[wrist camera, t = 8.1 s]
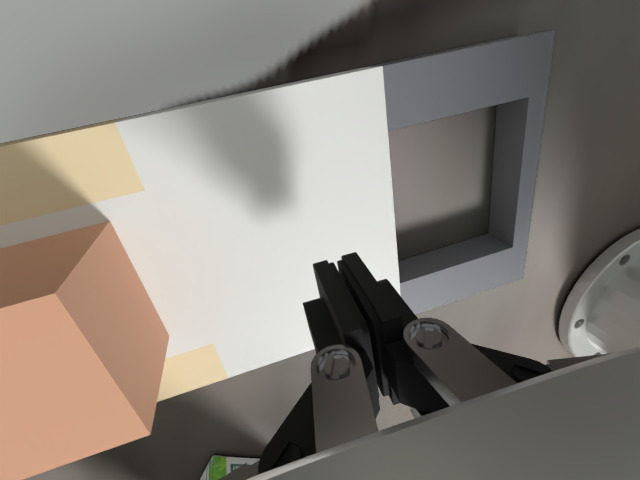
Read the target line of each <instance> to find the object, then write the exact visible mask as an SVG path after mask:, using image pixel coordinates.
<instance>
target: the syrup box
mask: <svg viewBox="0 0 640 480" xmlns="http://www.w3.org/2000/svg"><path fill="white" fill-rule="evenodd" d="M259 460H260V459H258V458H239V457H224V456H219V455H213V456H212V457H211V459H210V461H209V463H208V465H207V467H206V469H205V471H204V473H203V475H202V477H201V478H200V480H218V479H220V478H222V477H223V476H225V475H227V474H228V473H230V472H232V471H234V470H235V469H237V468H239V467H240V466H242V465H244V464H245V463H247V465H248V467H249V466H250V465H252V464H254V463H255V462H257V461H259Z"/></svg>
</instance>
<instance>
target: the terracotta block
mask: <svg viewBox="0 0 640 480" xmlns="http://www.w3.org/2000/svg"><path fill="white" fill-rule="evenodd" d="M168 341H169V334H168V332H167V330H166V328H165V326H164V324H163V323H162V321H161V319H160V317H159V315H158V313H157V311H156V309H155V307H154V305H153V303H152V301H151V299H150V297H149V295H148V293H147V292H146V290H145V288H144V286H143V284H142V282H141V280H140V278H139V276H138V274H137V272H136V270H135V268H134V266H133V264H132V262H131V260H130V259H129V257H128V255H127V253H126V251H125V249H124V247H123V245H122V243H121V241H120V239H119V237H118V235H117V233H116V231H115V229H114V228H113V226H112V224H111V222H110V221H107V222H103V223H99V224H95V225H91V226H87V227H83V228H79V229H75V230H71V231H67V232H63V233H59V234H55V235H51V236H47V237H43V238H40V239H36V240H32V241H28V242H24V243H20V244H16V245H12V246H8V247H4V248H0V480H23V479H25V478H28V477H31V476H34V475H37V474H40V473H43V472H45V471H48V470H51V469H54V468H57V467H60V466H63V465H65V464H68V463H71V462H74V461H77V460H80V459H83V458H85V457H88V456H91V455H94V454H97V453H100V452H103V451H105V450H108V449H111V448H114V447H117V446H120V445H123V444H126V443H128V442H131V441H134V440H137V439H140V438H143V437H146V436H148V435H151V430H152V425H153V420H154V415H155V409H156V404H157V399H158V394H159V388H160V383H161V378H162V373H163V367H164V362H165V357H166V352H167V347H168Z"/></svg>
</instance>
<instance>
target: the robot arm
mask: <svg viewBox="0 0 640 480" xmlns="http://www.w3.org/2000/svg"><path fill="white" fill-rule="evenodd" d="M341 259H342V260H339V261H337V265H338V270H339V271H338V270H337V268H336V266H335V264H334V262H332V263H328V261H327V260H324V261H321V262H317V263H314V264H313V269H314V274H315V278H316V282H317V287H318V291H319V296H320V298H318V299H314V300H311V301H307V302H304V303H303V307H304V311H305V315H306V319H307V322H308V326H309V330H310V334H311V337H312V341H313V344H314V347H315V351H316V355H315V356H314V358H313V360H312V362H311V381H312V382H311V384H310V385H309V386H308V388H307V389H306V391H305V392H304V394H303V395H302V396H301V398H300V399H299V401H298V402H297V404H296V405H295V406H294V408H293V409H292V411H291V412H290V414H289V415H288V416H287V418H286V419H285V421H284V422H283V424H282V425H281V426H280V428H279V429H278V431H277V432H276V433H275V435H274V436H273V438H272V439H271V441H270V442H269V443H268V445H267V446H266V448H265V449H264V451H263V453H262V455H261V457H260V460H259V461H257V462H255V463H254V464H252V465H250V466H249V467H248V465H247V463H245V464H244V465H242V466H240V467H239V468H237V469H235V470H234V471H232V472H230V473H228V474H227V475H225V476H223V477H222V478H220V479H218V480H640V228H639V229H637V230H635V231H633V232H631V233H629V234H627V235H625V236H624V237H623V238H621V239H620V240H618V241H617V242H615V243H614V244H612V245H611V246H610V247H609V248H607V249H606V250H605V251H604V252H603V253H602V254H600V255H599V256H598V257H597V258H596V259H595V260H594V261H593V262H592V264H591V265H590V266H589V267H588V268H587V269H586V270H585V271H584V273H583V274H582V275H581V277H580V278H579V279H578V281H577V282H576V283H575V285H574V287H573V288H572V290H571V292H570V293H569V295H568V297H567V299H566V302H565V304H564V306H563V309H562V312H561V316H560V320H559V336H560V341H561V343H562V345H563V346H564V348H565V349H566V350H567V351H568V352H570V353H571V354H572V355H573V356H575V357H572V358H563V359H554V360H547V365H544V364H542V363H540V362H538V361H535V360H532V359H529V358H525V357H521V356H517V355H513V354H509V353H505V352H502V351H498V350H494V349H490V348H486V347H482V346H478V345H474V344H471V343H469V342H468V341H467V340H466V339H465V338H463V337H462V336H461V335H460V334H459V333H458V332H456V331H455V330H454V329H453V328H452V327H450V326H449V325H448V324H446V323H445V322H443V321H441V320H438V319H434V318H420V319H418V318H417V317H416V315H415V314H414V313H413V311H412V310H411V309H410V308H409V306H408V305H407V304H406V302H405V301H404V300H403V299H402V297H401V296H400V295H399V293H398V292H397V291H396V290H395V288H394V287H393V286H392V284H391V283H390V282H389V281H388V280H387V279H383V280H380V281H376V279H375V278H374V276H373V275H372V274H371V272H370V271H369V269H368V268H367V267H366V265H365V264H364V262H363V261H362V260H361V258H360V257H359V255H358V254H357V253H356V252H353V253H350V254H346V255H343V256H341ZM377 384H378V386H377ZM378 387H379V389H380V391H381V393H382V395H383V396H387V395H389V397H390V399H391V401H392V403H393V405H395V404H398V403H402V404H404V405H407V406H410V410H411V412H412V414H413V416H414V418H415V419H412V420H409V421H407V422H404V423H401V424H398V425H395V426H392V427H389V428H386V429H384V430H381V431H378V428H377V424H376V417H377V414H378V412H379V410H380V406H379V399H378V398H379V392H378Z"/></svg>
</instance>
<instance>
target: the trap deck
mask: <svg viewBox="0 0 640 480" xmlns="http://www.w3.org/2000/svg"><path fill="white" fill-rule="evenodd" d="M555 33H556V30H549V31H542V32H535V33H528V34H521V35H516V36H511V37H506V38H502V39H497V40H492V41H487V42H483V43H478V44H473V45H468V46H463V47H459V48H454V49H449V50H444V51H440V52H435V53H430V54H425V55H421V56H416V57H411V58H406V59H401V60H397V61H392V62H387V63H382V64H378V65H373V66H368V67H363V68H358V69H354V70H349V71H344V72H339V73H335V74H330V75H325V76H320V77H316V78H311V79H306V80H301V81H296V82H292V83H287V84H282V85H277V86H273V87H268V88H263V89H258V90H254V91H249V92H244V93H239V94H234V95H230V96H225V97H220V98H215V99H211V100H206V101H201V102H196V103H191V104H187V105H182V106H177V107H172V108H168V109H163V110H158V111H153V112H149V113H144V114H139V115H134V116H130V117H125V118H120V119H115V120H110V121H106V122H101V123H96V124H91V125H86V126H82V127H78V128H72V129H67V130H63V131H58V132H53V133H49V134H44V135H39V136H34V137H29V138H24V139H20V140H15V141H10V142H6V143H1V144H0V248H4V247H8V246H12V245H16V244H20V243H24V242H28V241H32V240H36V239H40V238H43V237H47V236H51V235H55V234H59V233H63V232H67V231H71V230H75V229H79V228H83V227H87V226H91V225H95V224H99V223H103V222H107V221H110V222H111V224H112V226H113V228H114V229H115V231H116V233H117V235H118V237H119V239H120V241H121V243H122V245H123V247H124V249H125V251H126V253H127V255H128V257H129V259H130V260H131V262H132V264H133V266H134V268H135V270H136V272H137V274H138V276H139V278H140V280H141V282H142V284H143V286H144V288H145V290H146V292H147V293H148V295H149V297H150V299H151V301H152V303H153V305H154V307H155V309H156V311H157V313H158V315H159V317H160V319H161V321H162V323H163V324H164V326H165V328H166V330H167V332H168V334H169V341H168V347H167V352H166V357H165V362H164V367H163V373H162V378H161V383H160V388H159V394H158V399H157V402H159V401H162V400H165V399H168V398H170V397H173V396H176V395H179V394H182V393H185V392H188V391H191V390H194V389H197V388H200V387H203V386H206V385H209V384H212V383H215V382H218V381H221V380H224V379H227V378H230V377H233V376H236V375H239V374H241V373H244V372H247V371H250V370H253V369H256V368H259V367H262V366H265V365H268V364H271V363H274V362H277V361H280V360H283V359H286V358H289V357H292V356H295V355H298V354H301V353H304V352H307V351H310V350H313V349H315V347H314V344H313V341H312V337H311V334H310V330H309V326H308V322H307V319H306V315H305V311H304V307H303V303H304V302H307V301H311V300H314V299H318V298H320V296H319V291H318V287H317V282H316V278H315V274H314V269H313V264H314V263H317V262H321V261H324V260H327V261H328V263H332V262H334V264H335V266H336V268H337V270H338V265H337V261H339V260H342V259H341V256H343V255H346V254H350V253H353V252H356V253H357V254H358V255H359V257H360V258H361V260H362V261H363V262H364V264H365V265H366V267H367V268H368V269H369V271H370V272H371V274H372V275H373V276H374V278H375V279H376V281H380V280H383V279H387V280H388V281H389V282H390V283H391V284H392V286H393V287H394V288H395V290H396V291H397V292H398V293H399V295H400V296H401V297H402V299H403V300H404V301H405V302H406V304H407V305H408V306H409V308H410V309H411V310H412V311H413V313H414V314H415V315H416V314H419V313H422V312H425V311H428V310H431V309H434V308H437V307H440V306H443V305H446V304H449V303H452V302H455V301H457V300H460V299H463V298H466V297H469V296H472V295H475V294H478V293H481V292H484V291H487V290H490V289H493V288H496V287H499V286H502V285H505V284H508V283H511V282H514V281H517V280H520V279H523V277H524V269H525V261H526V254H527V246H528V238H529V231H530V223H531V216H532V208H533V200H534V193H535V185H536V178H537V170H538V162H539V155H540V147H541V139H542V132H543V124H544V117H545V109H546V101H547V94H548V86H549V78H550V71H551V63H552V56H553V48H554V40H555ZM494 105H497V111H496V126H495V141H494V156H493V171H492V186H491V201H490V216H489V231H488V234H484V235H481V236H478V237H475V238H471V239H468V240H465V241H462V242H458V243H455V244H452V245H449V246H446V247H442V248H439V249H436V250H433V251H429V252H426V253H423V254H420V255H416V256H413V257H410V258H407V259H403V260H400V261H398V255H397V242H396V229H395V217H394V204H393V191H392V179H391V166H390V153H389V141H388V131H391V130H396V129H400V128H404V127H408V126H412V125H416V124H420V123H424V122H428V121H432V120H437V119H441V118H445V117H449V116H453V115H457V114H461V113H465V112H469V111H474V110H478V109H482V108H486V107H490V106H494ZM338 271H339V270H338Z"/></svg>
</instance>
